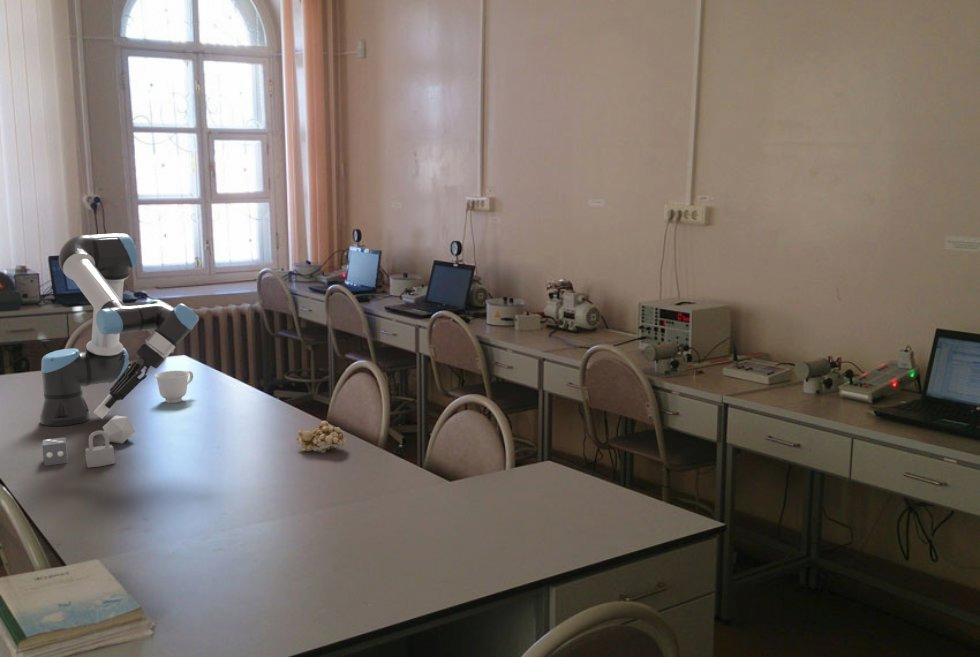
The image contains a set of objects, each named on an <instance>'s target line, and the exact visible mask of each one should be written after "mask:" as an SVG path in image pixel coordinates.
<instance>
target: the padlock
mask: <svg viewBox="0 0 980 657" xmlns="http://www.w3.org/2000/svg"><path fill="white" fill-rule="evenodd" d="M97 435H102V436H104V438H103V439H104V445H98V446H94V437H95V436H97ZM84 452H85V461H86V463H85V464H86V467H87V468H89V469H90V468H95V467H96V468H98V467H102V466H103V467H106V466H109V465H114V464H115V463H116V461H115V449H114V446H113V445H112V444H110V441H109V436H108V434H107V433H106V432H105V431H104V430H95V431H93V432H91V433H90V434H89V435H88V447H86V448H85V450H84Z"/></svg>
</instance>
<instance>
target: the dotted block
mask: <svg viewBox="0 0 980 657" xmlns="http://www.w3.org/2000/svg"><path fill="white" fill-rule="evenodd" d="M41 446H42V455H43V466H44V467H45V465H46V466H54V465H61V464H67V463H68V448H67V438H66V437H57V438H49V439H46V438H45V439H43V440H42V445H41Z"/></svg>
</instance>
